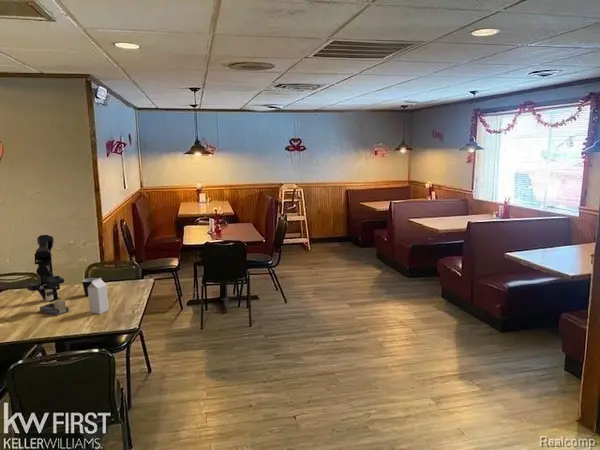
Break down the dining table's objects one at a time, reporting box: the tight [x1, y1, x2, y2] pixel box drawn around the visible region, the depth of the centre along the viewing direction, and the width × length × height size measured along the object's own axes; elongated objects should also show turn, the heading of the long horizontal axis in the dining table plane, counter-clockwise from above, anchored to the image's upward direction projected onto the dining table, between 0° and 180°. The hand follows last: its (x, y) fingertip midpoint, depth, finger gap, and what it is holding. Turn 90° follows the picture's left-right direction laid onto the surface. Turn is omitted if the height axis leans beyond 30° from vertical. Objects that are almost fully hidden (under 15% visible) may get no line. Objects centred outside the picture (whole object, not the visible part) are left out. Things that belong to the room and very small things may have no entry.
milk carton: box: [88, 277, 110, 315], centre depth 260 cm, size 7×7×19 cm
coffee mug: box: [81, 277, 97, 298], centre depth 294 cm, size 12×9×10 cm
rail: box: [39, 299, 70, 317], centre depth 263 cm, size 16×7×7 cm, turn 60°
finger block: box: [42, 289, 54, 302], centre depth 264 cm, size 5×4×6 cm
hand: (47, 298), depth 265 cm, fingers closed on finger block, 4 cm apart
